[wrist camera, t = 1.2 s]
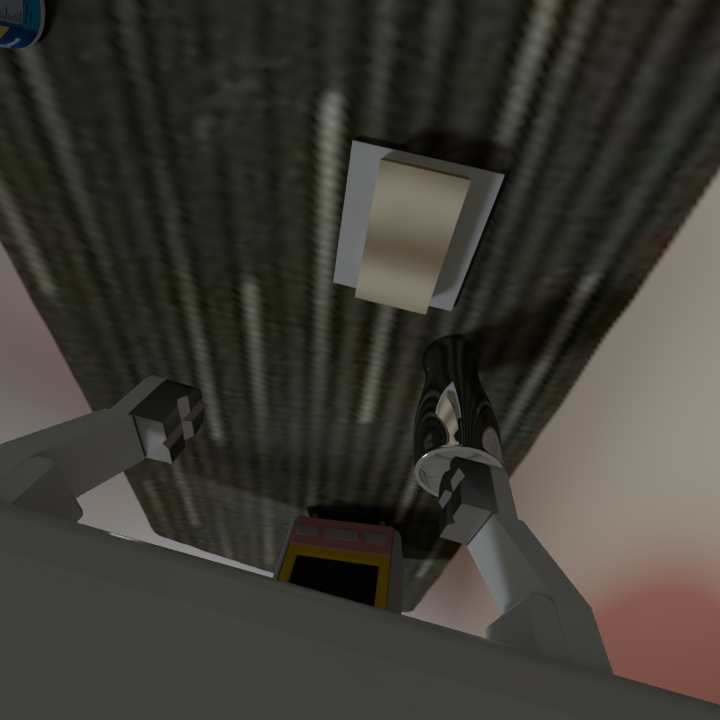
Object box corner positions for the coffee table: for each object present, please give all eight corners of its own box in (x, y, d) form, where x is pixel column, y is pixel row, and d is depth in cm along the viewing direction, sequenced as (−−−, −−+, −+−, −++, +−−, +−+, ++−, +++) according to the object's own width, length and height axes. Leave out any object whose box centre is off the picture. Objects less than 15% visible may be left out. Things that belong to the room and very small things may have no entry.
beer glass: (473, 324, 34) (495, 437, 22) (490, 375, 37) (518, 498, 25) (409, 343, 36) (397, 454, 25) (430, 389, 40) (429, 507, 28)
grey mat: (354, 140, 26) (352, 140, 26) (503, 174, 26) (504, 175, 25) (334, 279, 34) (333, 282, 33) (451, 308, 33) (451, 310, 33)
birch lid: (385, 155, 26) (380, 159, 24) (467, 174, 26) (471, 180, 23) (360, 284, 33) (354, 297, 30) (425, 300, 32) (425, 314, 30)
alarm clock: (401, 516, 57) (390, 654, 42) (405, 559, 66) (397, 685, 51) (294, 504, 61) (250, 626, 46) (311, 546, 70) (279, 660, 55)
